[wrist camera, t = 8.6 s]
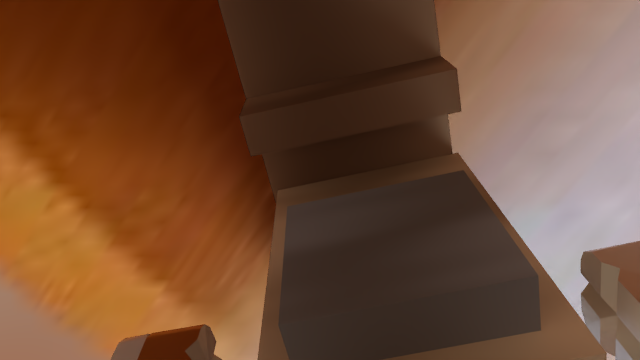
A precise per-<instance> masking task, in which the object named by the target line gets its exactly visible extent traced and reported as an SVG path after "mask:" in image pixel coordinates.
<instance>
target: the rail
mask: <svg viewBox="0 0 640 360" xmlns="http://www.w3.org/2000/svg"><path fill="white" fill-rule="evenodd" d="M218 3H219V6H220V10H221V13H222V17H223V20H224V24H225V27H226V31H227V34H228V38H229V41H230V45H231V48H232V52H233V55H234V59H235V62H236V66H237V69H238V73H239V76H240V80H241V83H242V87H243V90H244V93H245V97H246V101H245V103H244V106H243V108H242V111H241V113H240V116H239V118H240V122H241V125H242V128H243V132H244V135H245V139H246V142H247V145H248V149H249V152H250V155H251V156H256V155H260V154H262V156H263V160H264V163H265V167H266V170H267V174H268V177H269V181H270V184H271V188H272V191H273V195H274V198H275V202H277V194H278V190H282V189H287V188H292V187H297V186H302V185H306V184H311V183H316V182H321V181H326V180H330V179H335V178H340V177H345V176H349V175H354V174H359V173H364V172H369V171H373V170H378V169H383V168H388V167H393V166H397V165H402V164H407V163H412V162H416V161H421V160H426V159H431V158H436V157H440V156H445V155H450V154H452V146H451V138H450V129H449V121H448V114H451V113H456V112H460V111H461V103H460V94H459V84H458V75H457V69H456V68H455V67H454V66H453V65H451V64H450V63H449V62H448V61H446V60H445V59H444V58H443V57H441V54H440V46H439V38H438V29H437V21H436V13H435V4H434V0H218Z"/></svg>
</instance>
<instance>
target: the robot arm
mask: <svg viewBox="0 0 640 360" xmlns="http://www.w3.org/2000/svg"><path fill="white" fill-rule="evenodd" d="M581 273H582V275H583V276H584V277H585V278H586V279H587V281H588V282H589V283H588V285H587V286H586V288H585V289H584V290H583V292H582V293H581V306H582V313H583V316H584V320H585V323H586V326H587V328H588V329H589V330H590V332H591V333H592V334H593V336H594V337H595V338H596V340H597V341H598V342H599V344H600V345H601V346H602V348H603V349H604V350H605V352H607V353H609V354H611V355H613V356H615V360H640V241H636V242H631V243H626V244H621V245H616V246H611V247H606V248H600V249H595V250H590V251H585V252H583V255H582V258H581ZM215 345H216V340H215V338H214V335H213V333H212V331H211V329H210V327H209V326H207V325H205V324H204V325H198V326H192V327H186V328H180V329H174V330H168V331H162V332H156V333H152V334H146V335H140V336H135V337H130V338H125V339H124V340H122V341H121V342H119V344H118V345H117V347H116V349H115V351H114V353H113V356H112V358H111V360H222V359H220V358H219V357H217V356H216V355H214V349H215Z"/></svg>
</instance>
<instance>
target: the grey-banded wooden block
mask: <svg viewBox="0 0 640 360" xmlns="http://www.w3.org/2000/svg"><path fill="white" fill-rule="evenodd" d="M606 354H607V353H606V352H605V350H604V349H603V348H602V346H601V345H600V344H599V342H598V341H597V340H596V338H595V337H594V336H593V334H592V333H591V332H590V330H589V329H588V328H587V326H586V325H585V323H584V322H583V321H582V319H581V318H580V317H579V315H578V314H577V313H576V311H575V310H574V309H573V307H572V306H571V305H570V303H569V302H568V301H567V299H566V298H565V297H564V295H563V294H562V292H561V291H560V290H559V288H558V287H557V286H556V284H555V283H554V282H553V280H552V279H551V278H550V276H549V275H548V274H547V272H546V271H545V270H544V268H543V267H542V265H541V264H540V263H539V261H538V260H537V259H536V257H535V256H534V255H533V253H532V252H531V251H530V249H529V248H528V247H527V245H526V244H525V243H524V241H523V240H522V239H521V237H520V236H519V234H518V233H517V232H516V230H515V229H514V228H513V226H512V225H511V224H510V222H509V221H508V220H507V218H506V217H505V216H504V214H503V213H502V212H501V210H500V209H499V208H498V206H497V205H496V203H495V202H494V201H493V199H492V198H491V197H490V195H489V194H488V193H487V191H486V190H485V189H484V187H483V186H482V185H481V183H480V182H479V181H478V179H477V178H476V177H475V175H474V174H473V172H472V171H471V170H470V168H469V167H468V166H467V164H466V163H465V162H464V160H463V159H462V158H461V156H460V155H459V154H458V153H455V154H450V155H445V156H440V157H436V158H431V159H426V160H421V161H416V162H412V163H407V164H402V165H397V166H393V167H388V168H383V169H378V170H373V171H369V172H364V173H359V174H354V175H349V176H345V177H340V178H335V179H330V180H326V181H321V182H316V183H311V184H306V185H302V186H297V187H292V188H287V189H282V190H278V194H277V202H276V210H275V219H274V227H273V235H272V244H271V252H270V260H269V269H268V277H267V286H266V294H265V302H264V311H263V319H262V327H261V336H260V344H259V352H258V360H606Z"/></svg>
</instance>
